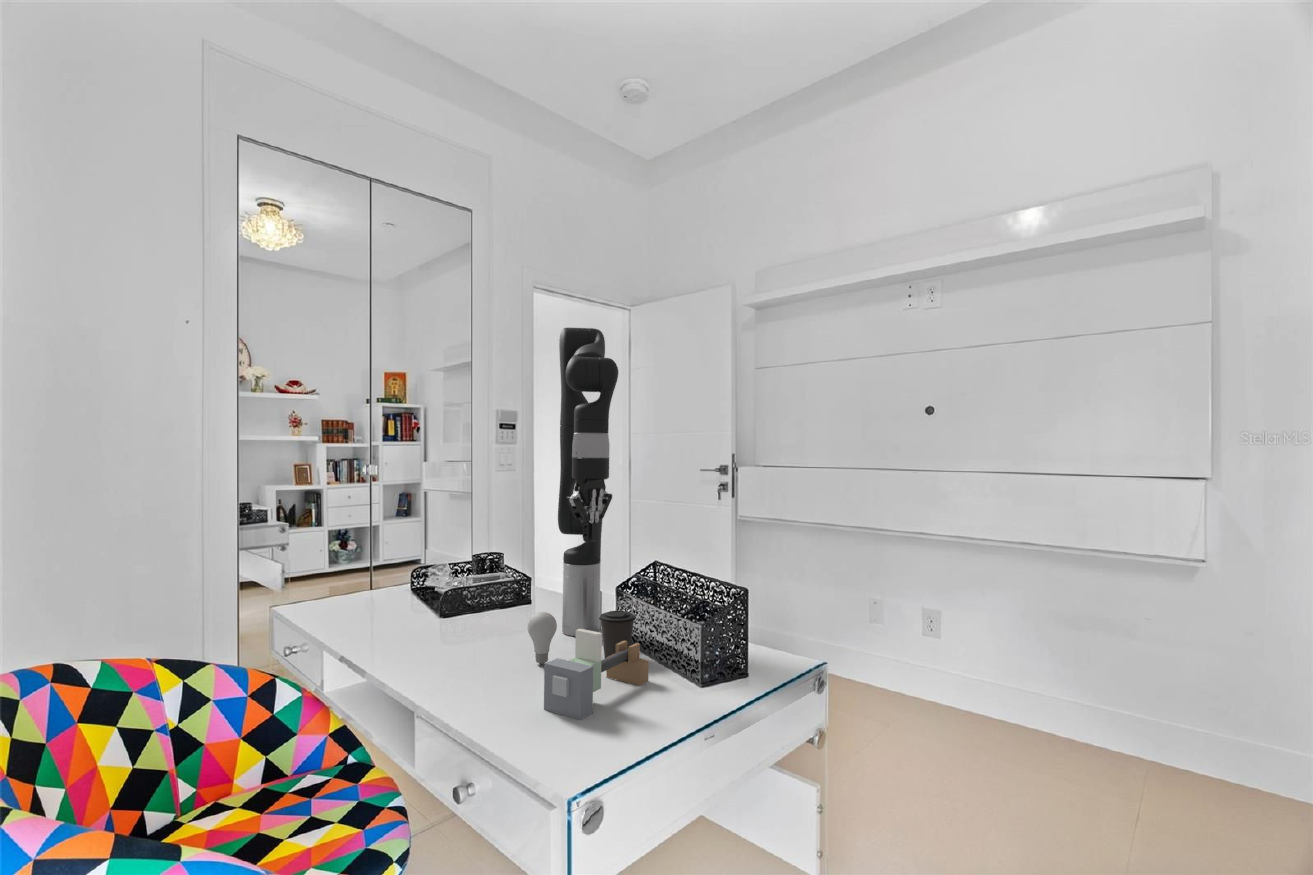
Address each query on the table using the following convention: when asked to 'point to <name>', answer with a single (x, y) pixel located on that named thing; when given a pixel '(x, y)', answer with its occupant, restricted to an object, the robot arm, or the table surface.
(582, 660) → the white-faced green block
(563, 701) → the rod rig
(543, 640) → the lightbulb
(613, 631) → the coffee cup
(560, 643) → the table surface
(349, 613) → the table surface
